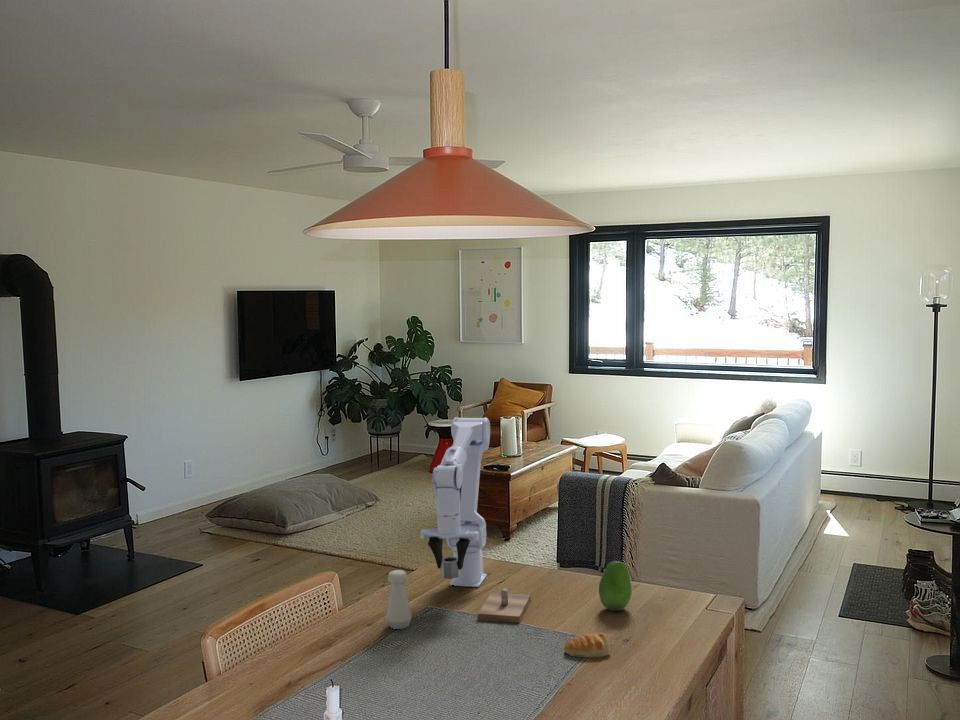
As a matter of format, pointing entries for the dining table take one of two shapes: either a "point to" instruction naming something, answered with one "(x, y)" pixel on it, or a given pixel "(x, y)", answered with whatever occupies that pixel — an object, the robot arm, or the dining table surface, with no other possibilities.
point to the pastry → (588, 646)
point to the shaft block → (504, 607)
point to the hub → (449, 568)
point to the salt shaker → (398, 601)
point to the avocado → (615, 586)
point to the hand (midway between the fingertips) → (450, 567)
